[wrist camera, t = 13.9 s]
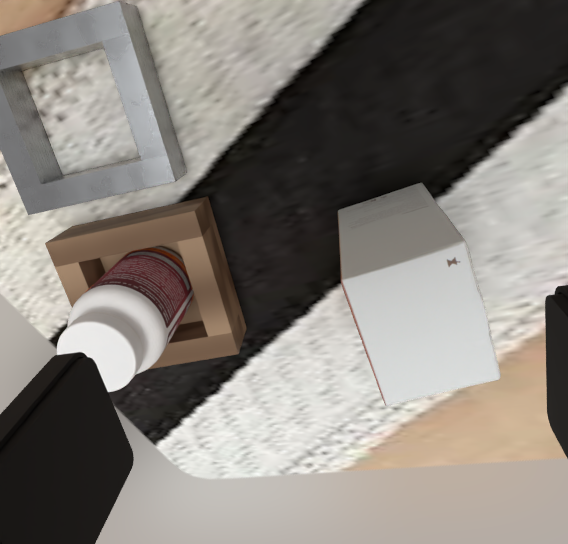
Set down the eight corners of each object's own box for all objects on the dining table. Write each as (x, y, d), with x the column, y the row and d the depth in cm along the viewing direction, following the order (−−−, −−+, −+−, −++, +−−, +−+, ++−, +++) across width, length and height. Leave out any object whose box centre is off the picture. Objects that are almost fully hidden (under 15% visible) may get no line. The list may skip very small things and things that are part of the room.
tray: (71, 226, 39) (45, 243, 36) (208, 196, 38) (194, 211, 34) (120, 350, 43) (101, 376, 39) (246, 328, 41) (238, 353, 38)
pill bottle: (112, 242, 38) (33, 305, 28) (194, 244, 38) (143, 310, 28) (122, 316, 41) (52, 400, 31) (199, 319, 40) (154, 406, 30)
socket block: (-13, 49, 35) (-43, 48, 32) (136, 6, 33) (118, 1, 30) (49, 204, 39) (28, 214, 36) (187, 172, 37) (175, 181, 34)
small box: (335, 209, 37) (337, 278, 25) (422, 180, 36) (468, 238, 24) (368, 305, 40) (385, 410, 28) (451, 281, 38) (506, 380, 26)
